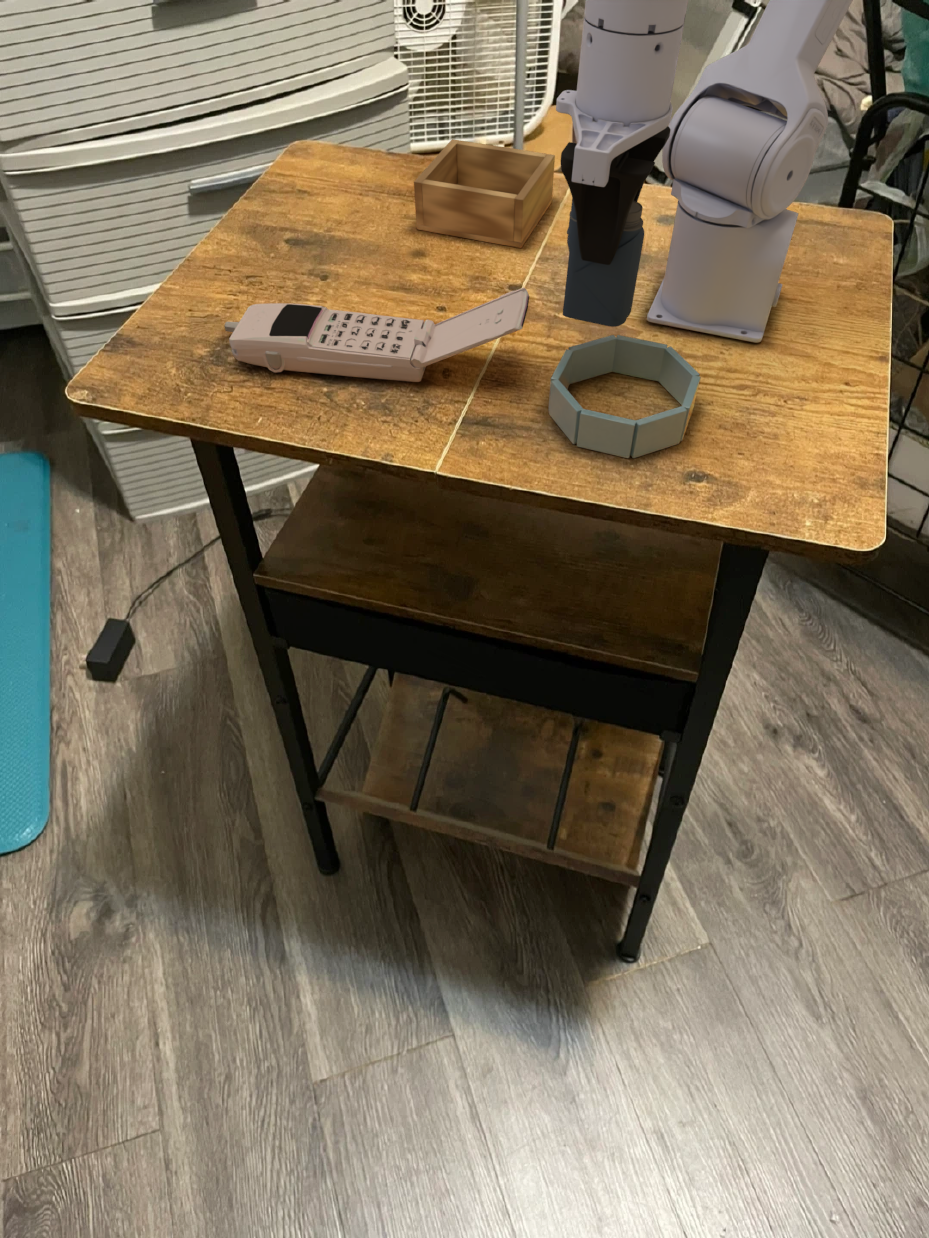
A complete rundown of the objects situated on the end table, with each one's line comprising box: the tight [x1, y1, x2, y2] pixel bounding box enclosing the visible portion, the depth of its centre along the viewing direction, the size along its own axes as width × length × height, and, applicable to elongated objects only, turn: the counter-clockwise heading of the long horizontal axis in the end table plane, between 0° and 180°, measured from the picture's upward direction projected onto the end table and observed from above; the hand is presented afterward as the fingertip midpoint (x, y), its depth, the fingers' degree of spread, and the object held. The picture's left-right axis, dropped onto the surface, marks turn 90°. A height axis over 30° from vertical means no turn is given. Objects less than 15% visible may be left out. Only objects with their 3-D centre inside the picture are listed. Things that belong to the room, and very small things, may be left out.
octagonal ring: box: [547, 334, 701, 459], centre depth 64 cm, size 10×10×3 cm
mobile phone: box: [224, 287, 530, 383], centre depth 67 cm, size 6×6×25 cm
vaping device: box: [562, 197, 645, 328], centre depth 59 cm, size 3×5×12 cm, turn 69°
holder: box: [413, 138, 556, 249], centre depth 82 cm, size 11×10×4 cm
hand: (602, 250), depth 60 cm, fingers closed on vaping device, 2 cm apart
